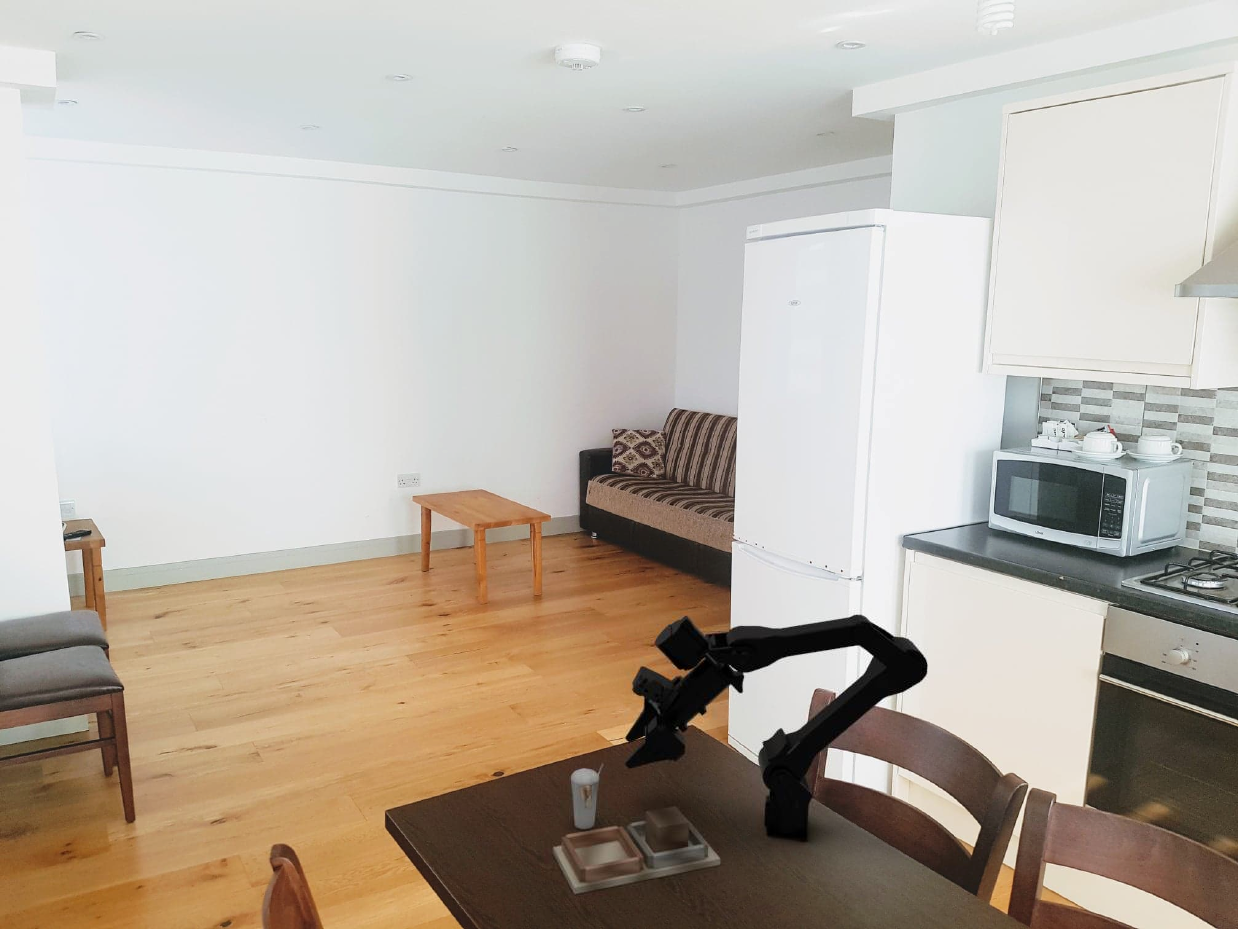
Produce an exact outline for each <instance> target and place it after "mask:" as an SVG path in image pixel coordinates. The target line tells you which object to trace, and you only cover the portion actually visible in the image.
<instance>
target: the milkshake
mask: <svg viewBox="0 0 1238 929" xmlns="http://www.w3.org/2000/svg"><path fill="white" fill-rule="evenodd" d="M603 766H604V762H602V763H601V764H600V768H599V770H598V773H597V772H596V771H595V770H593V769H590V768H585V767H584V768H580V769H576V770H575V771H573V772H572V774H571V775H570V783H571V793H572V803H573V804H572V805H573V819H574V826H575V828H577V829H581V830H588V829H589V830H590V829H591V828H593V827H594V826H595V822H596V821H595V820H596V819H595V818H596V810H597V809H596V807H597V798H598V791H599V783H600V782H599V781H600V774H601V771H602V769H603Z"/></svg>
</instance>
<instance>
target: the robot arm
mask: <svg viewBox="0 0 1238 929" xmlns="http://www.w3.org/2000/svg"><path fill="white" fill-rule="evenodd" d="M658 634H659V635H658V636H657V637H656V639H655V640H654V644H653V645H654V646H655V647H656V648H657V649H658V650H659V651H660V652H661V653H662V655H664V656H665V657H666V658H667V659H668V660H669V661H670V662H671V663H672V664H673V665H674V666H675V667H676V669H677V670H679V671H682V670H684V671H685V672H687V673H686V675H685V676H684V677H683V676H682V675H679V676H678V675H676V676H674V678H673V679H670V678H667V677H666V676H665V675H664V674H661V673H659V672H657V671H655V670H652V669H650V668H648V667H646V666H643V665H641V666H640V668H639V669H638V671H637V673H636V675H635V677H634V679H633V681H632V682H631V685H632V689H631V690H632V692H633V693H634V694H635V695H637V696H639V697H643V709H642V710H641V712H640V714H639V716H638V717H637V719H636V720H635V721H634V723H633V725H632V726H631V728H630V729H629V731H628V732H627V734H626V736H625V741H627V742H628V743H633V742H634V741H637V740H640V739H642V738H644V739H643V740H642V741H641V742H640V744H639V745H638V746H637V747H636V748H635V750H633V751H632V753H631V754H630V756H629V757H628V758H627V760H626V761H625V763H624V766H625V767H627V768H628V769H633V768H637V767H642V766H646V765H649V764H654V763H658V762H662V761H670V762H671V761H674V762H678V761H679V760H680V759H681V758H682V757H683V756H684V755H685V754H686V743H685V742H686V741H685V736H684V733H685V732H686V731H687V730H688V729H689V727H688V724H689V723H690V722H691V721H692V720H693V719H694V718H695V717H696V716H698V715H701V716H704V715H705V714H706V713H707V712H708V711H707V707H708V706H709V705H710V704H711V703H712V702H713V701H714V700H715V699H717V697H719V696H720V695H721V694H722V693H723V692H725V691H726V690H727V689H728V688H729V687H730V686H732V687H733V688H734V689H735V691H737V692H738V693H739V694H742V693H744V680H745V675H744V674H745V673H746V674H747V673H752V672H755V671H758V670H761V669H763V668H766V667H769V666H771V665H773V664H774V663H776V662H778V661H779V660H781V659H784V658H788V657H795V656H801V655H807V654H814V653H819V652H826V651H832V650H837V649H845V648H851V647H856V646H858V647H861V648H862V649H863V650H865V651H866V652H867V653H869V655H871V656H872V658H871V659H870V662H869V664H868V666H867V667H866V670H865V672H864V673H863V674H862V675H861V676H860V677H858V678H857V679H856V681H854V682H853V683H852V684H851V685H849V686H848V687H847V688H846V689H845V690H844V691H842V692H841V693H840V694H839V695H837V697H835V698H834V699H833V700H832V701H831V702H830V703H828V704H827V705H826V706H825V707H823V709H821V710H820V711H818V713H817V714H816V715H814V716H813V717H812V718H811V719H810V720H808V721H807V722H806V723H805V724H804V725H802V726H801V727H800V728H799V729H798V730H795V731H793V732H788V733H786V732H785V731H784V728H781V727H780V728H779V729H777V730H776V732H774V734H773V735H772V736H771V737H769V738H768V739H765V740H763V741H762V742H761V743H762V747H761V749H759V752H758V755H757V756H758V757H757V762H758V766H759V770H760V773H761V777H762V782H763V784H764V785H765V787H766V789H768V790H769V794H768V795H766V796H765V801H764V820H763V822H764V825H763V826H764V827H765V828H766V837H770V838H771V837H772V838H779V839H786V840H787V839H788V840H795V841H804V842H807V841H808V840H809V812H810V811H809V808H810V803H811V801H812V799H813V793H812V790H811V788H810V784H809V782H808V778H807V776H806V775H807V774H808V772H809V770H810V768H811V766H812V765H813V762H814V761H815V759H816V757H817V756H818V755H819V754H820V752H822V751H823V750H824V749H826V748H827V747H828V746H829V745H831V744H832V743H833V742H834V741H835V740H836V739H838V738H839V737H840V736H841V735H842V734H843V733H845V732H846V731H847V730H848V729H849V728H850V727H852V726H853V725H854V724H855V723H856V722H858V721H860V719H861V718H863V716H865V715H866V714H867V713H868V712H869V711H871V710H872V709H873V708H874V707H875V706H877V705H878V704H879V703H880V702H881V701H882V700H883V699H886V698H887V697H892V696H894V695H899V694H901V693H902V694H903V693H904V692H906V691H908V690H910V689H911V688H913V687H914V686H916V685H918V684H919V683H921V682H923V680H924V679H925V678H926V677H927V674H928V667H929V665H928V661H927V658H926V656H925V655H924V654H923V653H922V652H921V651H920V649H919V648H918V647H917V646H916V645H915V643H914V642H913V641H912V640H910V638H906V637H904V636H895V635H893V634H892V633H890V632H889V631H887V630H886V629H884V628H883V627H881V626H879V625H877V624H875V623H874V622H872V621H870V619H868V617H866V616H865V615H863V614H853V615H851V616H848V617H843V618H837V619H831V620H830V619H829V620H825V621H818V622H811V623H804V624H799V625H791V626H786V627H779V628H778V627H777V628H775V627H774V628H773V627H769V626H762V625H737V626H734V627H732V628H730V629H729V630H728V631H722V632H714V633H706V634H704V633H703V632H702V631H701V630H700V629H699V628H698V627H697V626H696V624H694V622H693V620H692V619H691V618H690V617H689V616H688V615H684V616H683V617H682V618H680V619H678V620H676V621H674V622H672V623H669V624H668V625H667V626H666V627H665V628H663V629H662V631H661V632H660V633H658ZM688 671H689V672H688ZM682 733H683V734H682Z"/></svg>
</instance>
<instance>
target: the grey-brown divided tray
mask: <svg viewBox="0 0 1238 929" xmlns="http://www.w3.org/2000/svg"><path fill="white" fill-rule="evenodd" d="M625 828H626V829H625ZM625 828H624V827H623V826H617V825H614V826H609V827H603V828H597V829H592V830H587V831H586V830H585V831H581V832H574V833H569V834H565V836H561V845H557V846H553V847H552V854H553V855H554V856H553V857H555V860H556V862H557V864H558V866H559V868H560V869H561V872H562V873H563V875H564V877H565V879H566V881H567V883H568V885H569V887H570V888H571V890H572V892H573V894H574V895H577V894H583V893H587V892H592V891H598V890H602V889H607V888H613V887H617V886H621V885H628V884H632V883H637V882H642V881H647V880H650V879H656V878H661V877H666V876H667V877H668V876H672V875H677V874H681V873H686V872H692V871H697V870H702V869H706V868H711V867H716V866H720V865H721V858H720V856H719V855H718V854H717V853H716V852H715V850H714V849H713V848H712V846H710V844H709V843H708V842H707V841H706V839H705V838H704V837H703V836H702V834H700V833H699V831H698V830H697V829H696V827H695V826H694V825H693V824H692V823H691V822H690V821H689V820H688V818H687V817H686V816H685V815H684V814H683V813H682V812H681V810H680V809H679V808H678V807H677V806H676V805H674V806H669V807H664V808H663V807H662V808H658V809H653V810H646V811H645V820H642V821H635V822H632V823H631V822H630V824H628V825H626V827H625Z"/></svg>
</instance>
